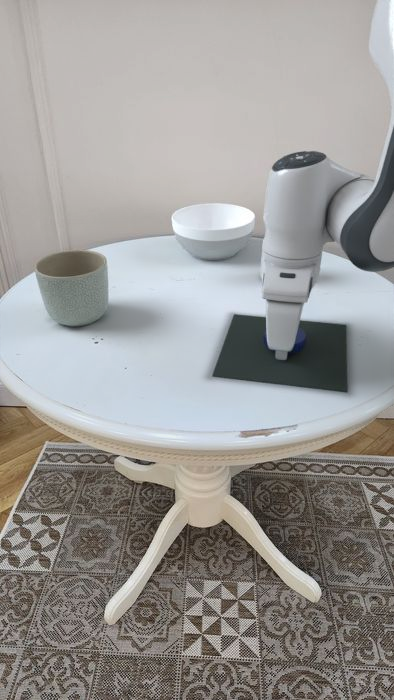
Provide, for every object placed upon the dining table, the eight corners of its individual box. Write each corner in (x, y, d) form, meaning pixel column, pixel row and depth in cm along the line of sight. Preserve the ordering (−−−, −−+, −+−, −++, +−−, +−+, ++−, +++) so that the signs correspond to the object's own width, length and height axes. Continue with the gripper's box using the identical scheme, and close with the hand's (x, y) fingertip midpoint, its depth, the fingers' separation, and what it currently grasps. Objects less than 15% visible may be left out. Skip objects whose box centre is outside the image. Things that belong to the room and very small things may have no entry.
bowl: (172, 269, 117) (170, 231, 112) (173, 238, 132) (172, 203, 128) (258, 267, 117) (259, 229, 112) (249, 237, 133) (250, 202, 128)
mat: (345, 327, 94) (346, 324, 94) (346, 393, 77) (347, 391, 77) (234, 316, 98) (234, 314, 98) (212, 377, 81) (212, 375, 81)
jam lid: (260, 350, 85) (261, 341, 84) (266, 330, 91) (267, 321, 90) (303, 356, 84) (304, 347, 83) (306, 335, 89) (307, 326, 88)
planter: (30, 322, 97) (19, 267, 91) (79, 296, 106) (71, 244, 100) (78, 341, 91) (69, 283, 85) (126, 312, 100) (121, 258, 94)
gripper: (276, 240, 89) (271, 313, 96) (260, 293, 72) (256, 377, 80) (314, 243, 88) (306, 316, 95) (307, 298, 71) (298, 382, 78)
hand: (283, 344), depth 87 cm, fingers closed on jam lid, 6 cm apart
